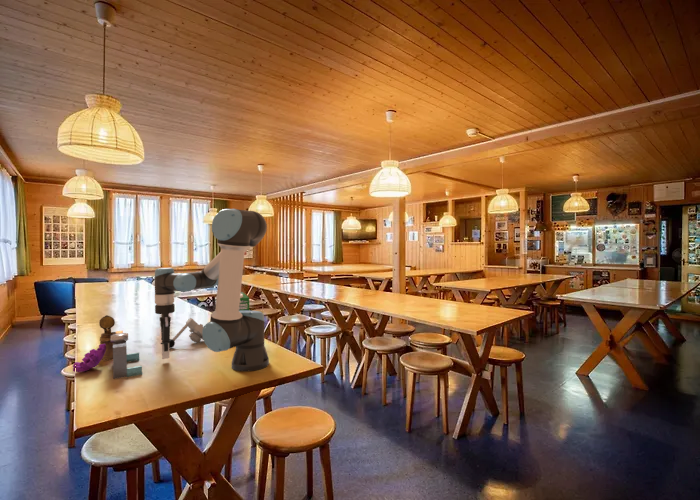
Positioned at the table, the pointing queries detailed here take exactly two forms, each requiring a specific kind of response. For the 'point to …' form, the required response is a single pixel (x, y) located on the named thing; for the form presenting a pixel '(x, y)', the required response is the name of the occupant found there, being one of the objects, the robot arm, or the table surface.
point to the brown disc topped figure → (107, 336)
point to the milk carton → (244, 302)
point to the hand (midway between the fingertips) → (165, 358)
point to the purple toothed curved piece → (90, 359)
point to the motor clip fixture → (123, 357)
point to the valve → (194, 328)
